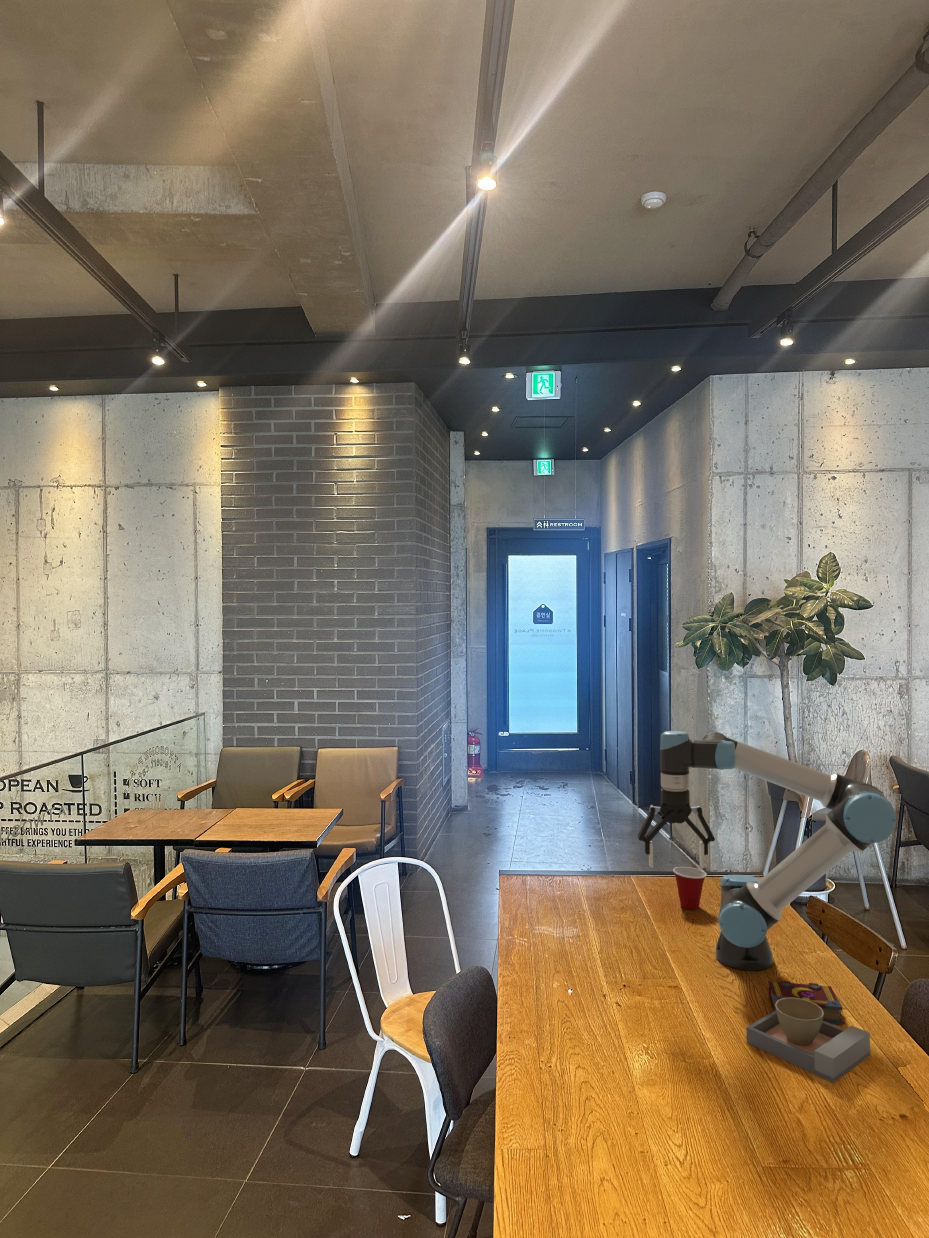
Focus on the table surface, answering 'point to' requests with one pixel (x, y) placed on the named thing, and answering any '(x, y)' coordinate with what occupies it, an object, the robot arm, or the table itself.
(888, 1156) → the table surface
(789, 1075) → the table surface
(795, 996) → the decorative book
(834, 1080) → the grey open tray
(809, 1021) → the flower pot
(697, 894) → the plastic cup
